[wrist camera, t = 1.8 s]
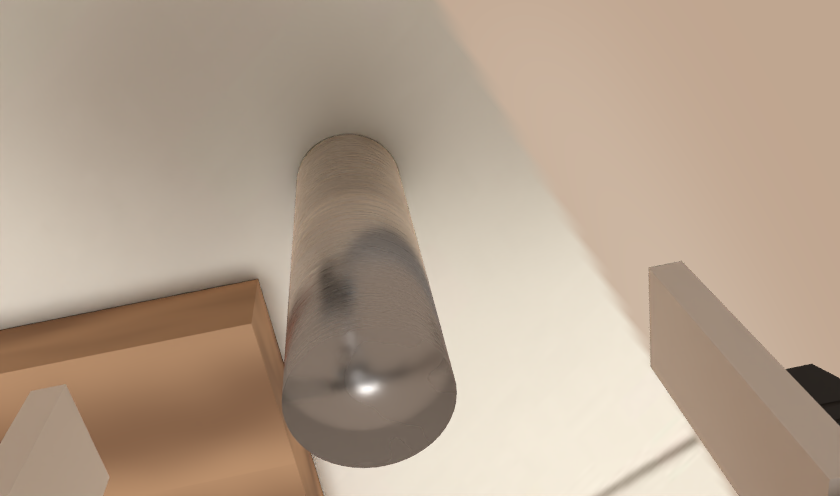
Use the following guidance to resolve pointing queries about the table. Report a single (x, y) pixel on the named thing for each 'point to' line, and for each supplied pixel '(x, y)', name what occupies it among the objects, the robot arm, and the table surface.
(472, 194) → the table surface
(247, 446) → the socket board
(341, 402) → the peg
